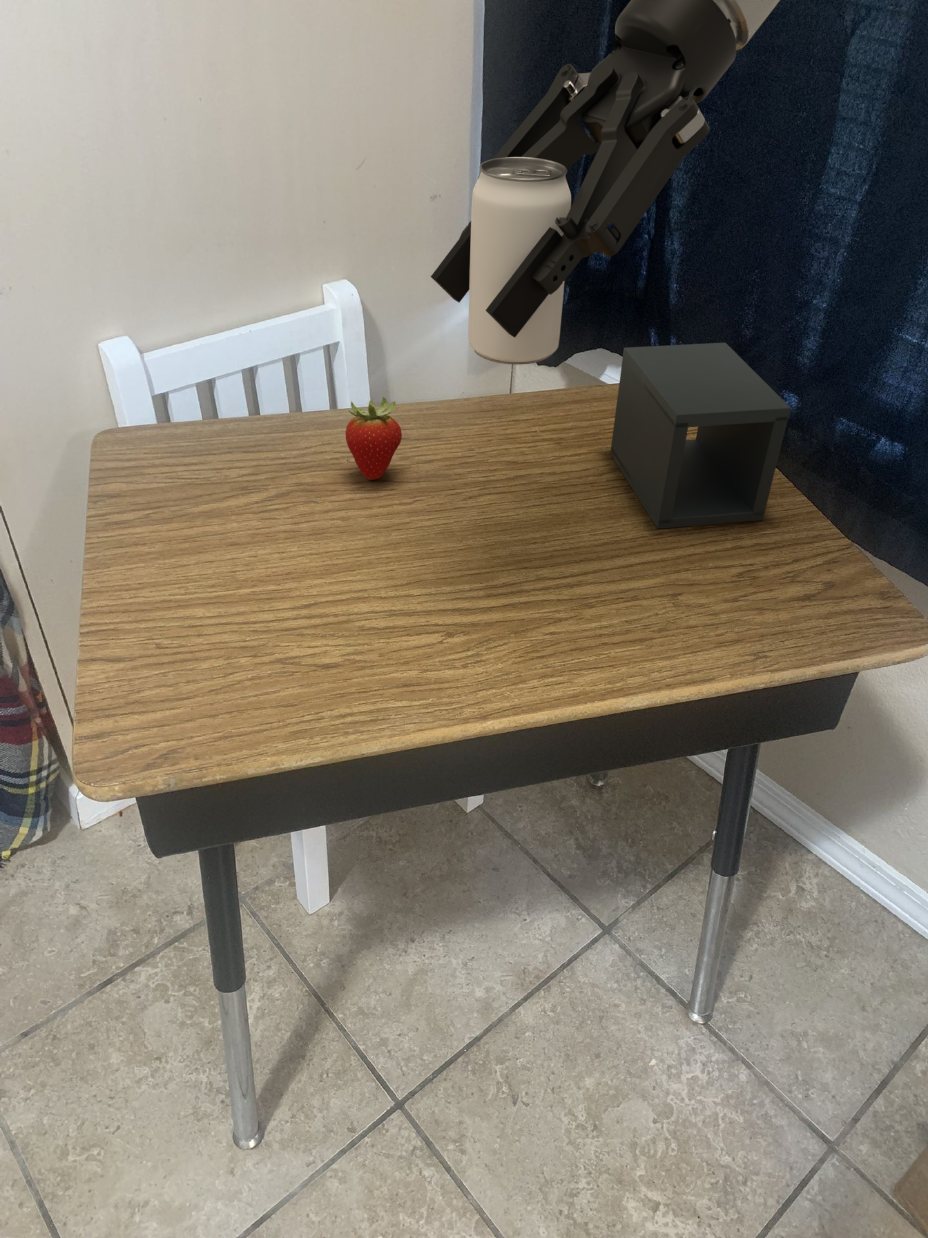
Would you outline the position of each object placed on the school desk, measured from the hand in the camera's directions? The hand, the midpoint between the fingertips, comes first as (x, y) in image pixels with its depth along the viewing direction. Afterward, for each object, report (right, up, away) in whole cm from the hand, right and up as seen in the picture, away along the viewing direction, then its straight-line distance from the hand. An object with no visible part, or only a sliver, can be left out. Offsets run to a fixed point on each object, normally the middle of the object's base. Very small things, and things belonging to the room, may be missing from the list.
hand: (472, 305), depth 66 cm
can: (+3, -2, +4) cm, 5 cm away
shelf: (+20, -9, +27) cm, 34 cm away
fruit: (-9, -8, +26) cm, 29 cm away
